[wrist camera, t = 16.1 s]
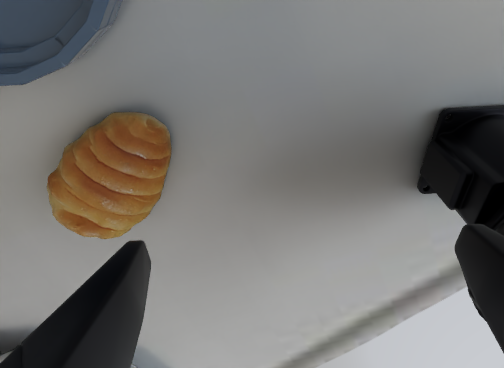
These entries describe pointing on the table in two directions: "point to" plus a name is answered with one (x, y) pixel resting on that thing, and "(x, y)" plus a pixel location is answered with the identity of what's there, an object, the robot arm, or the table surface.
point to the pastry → (111, 175)
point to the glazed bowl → (48, 35)
